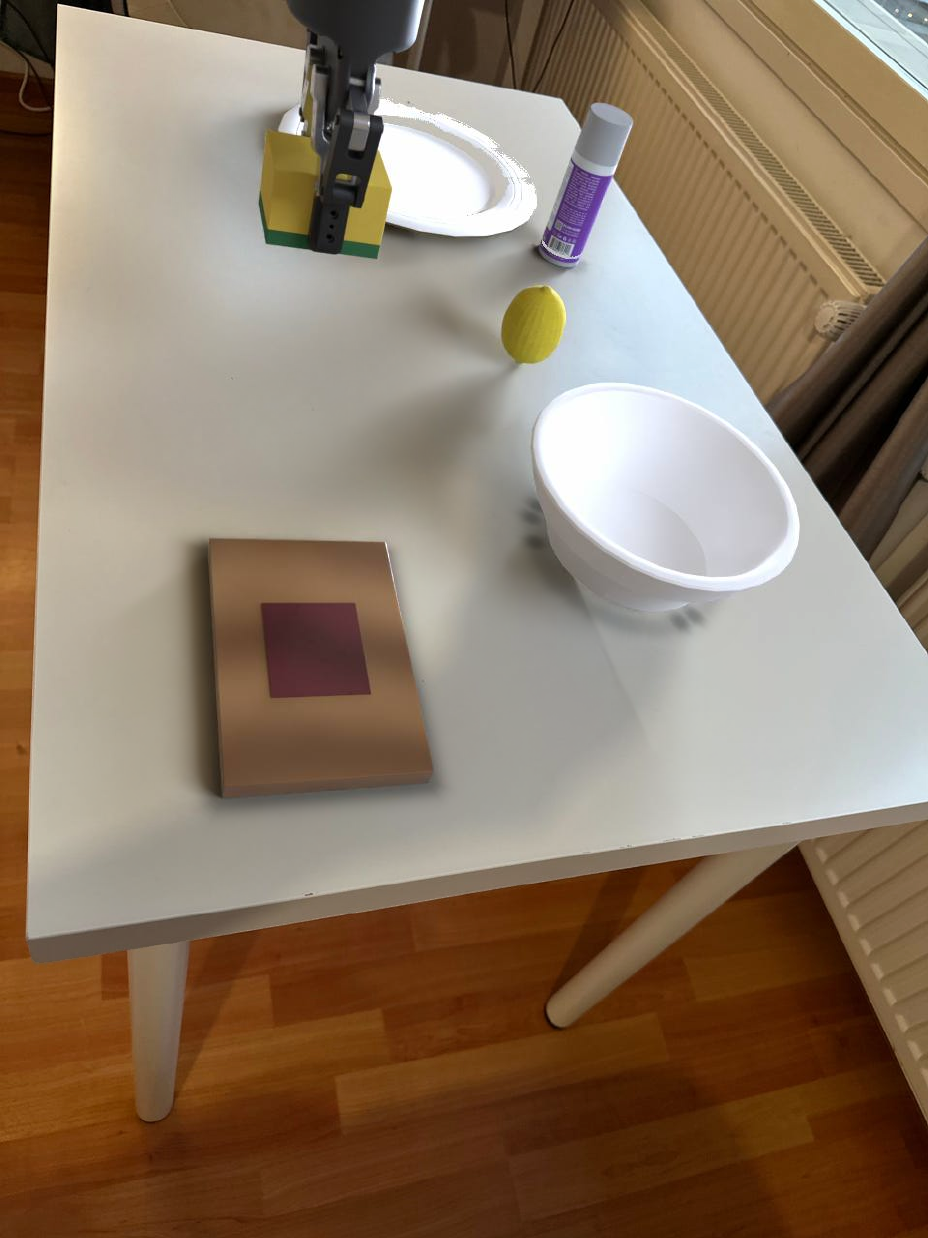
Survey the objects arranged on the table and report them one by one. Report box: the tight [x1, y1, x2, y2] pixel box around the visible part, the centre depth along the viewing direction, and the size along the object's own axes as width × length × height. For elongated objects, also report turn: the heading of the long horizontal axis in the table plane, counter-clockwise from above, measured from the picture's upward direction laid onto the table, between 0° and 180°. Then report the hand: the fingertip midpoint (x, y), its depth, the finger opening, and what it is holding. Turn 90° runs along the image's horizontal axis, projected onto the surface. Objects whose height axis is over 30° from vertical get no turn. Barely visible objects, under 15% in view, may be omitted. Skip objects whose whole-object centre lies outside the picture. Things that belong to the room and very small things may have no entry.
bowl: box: [530, 382, 801, 613], centre depth 67 cm, size 21×21×8 cm
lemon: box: [500, 285, 567, 365], centre depth 79 cm, size 6×6×8 cm
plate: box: [277, 98, 537, 239], centre depth 97 cm, size 29×29×2 cm
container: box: [538, 102, 634, 268], centre depth 91 cm, size 5×5×15 cm
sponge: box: [257, 129, 393, 260], centre depth 58 cm, size 8×5×5 cm, turn 103°
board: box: [207, 537, 435, 799], centre depth 55 cm, size 18×12×2 cm, turn 12°
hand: (318, 226), depth 59 cm, fingers closed on sponge, 5 cm apart
